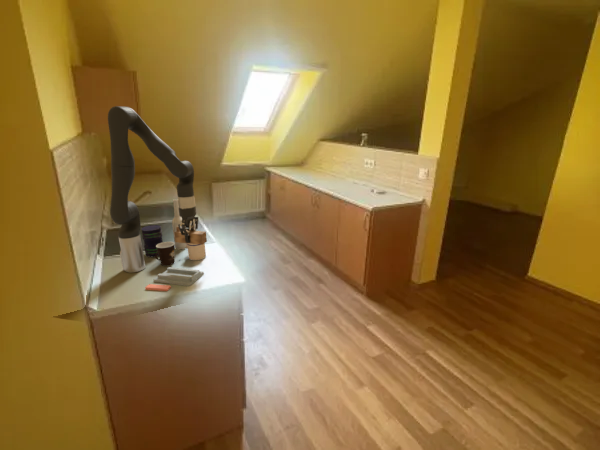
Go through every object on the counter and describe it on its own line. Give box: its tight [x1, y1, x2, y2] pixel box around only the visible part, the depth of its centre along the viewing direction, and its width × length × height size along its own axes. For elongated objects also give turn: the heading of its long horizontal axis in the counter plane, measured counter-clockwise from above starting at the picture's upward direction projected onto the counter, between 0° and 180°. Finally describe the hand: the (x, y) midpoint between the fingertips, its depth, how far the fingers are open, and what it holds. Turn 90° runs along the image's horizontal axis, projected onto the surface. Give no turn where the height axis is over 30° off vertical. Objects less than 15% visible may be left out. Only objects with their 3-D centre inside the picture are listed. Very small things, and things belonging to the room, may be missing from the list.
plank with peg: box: [173, 227, 208, 245], centre depth 153 cm, size 14×4×7 cm, turn 77°
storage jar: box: [140, 224, 164, 258], centre depth 176 cm, size 10×10×15 cm
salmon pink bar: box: [144, 283, 172, 292], centre depth 141 cm, size 10×3×2 cm, turn 82°
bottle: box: [171, 198, 187, 250], centre depth 183 cm, size 7×7×28 cm
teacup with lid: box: [186, 243, 207, 261], centre depth 172 cm, size 12×9×12 cm
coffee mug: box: [154, 241, 176, 267], centre depth 164 cm, size 12×9×10 cm
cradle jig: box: [153, 266, 205, 287], centre depth 150 cm, size 18×12×3 cm, turn 76°
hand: (190, 240), depth 154 cm, fingers closed on plank with peg, 4 cm apart
